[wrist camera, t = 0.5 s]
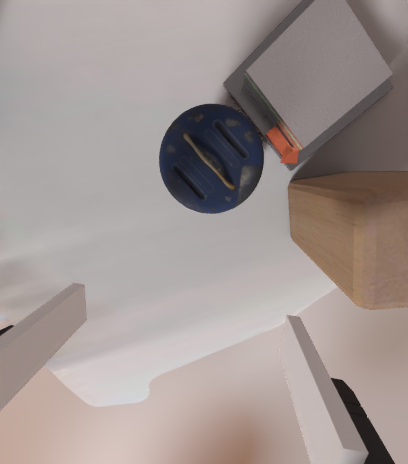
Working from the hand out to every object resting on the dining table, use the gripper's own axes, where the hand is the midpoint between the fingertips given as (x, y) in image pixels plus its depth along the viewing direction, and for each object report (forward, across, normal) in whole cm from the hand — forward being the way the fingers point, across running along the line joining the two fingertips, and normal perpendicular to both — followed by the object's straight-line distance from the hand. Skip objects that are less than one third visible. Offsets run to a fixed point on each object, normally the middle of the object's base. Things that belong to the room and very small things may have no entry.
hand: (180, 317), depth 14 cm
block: (+25, +17, +5) cm, 31 cm away
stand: (+24, +11, +22) cm, 35 cm away
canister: (+25, 0, +10) cm, 27 cm away
